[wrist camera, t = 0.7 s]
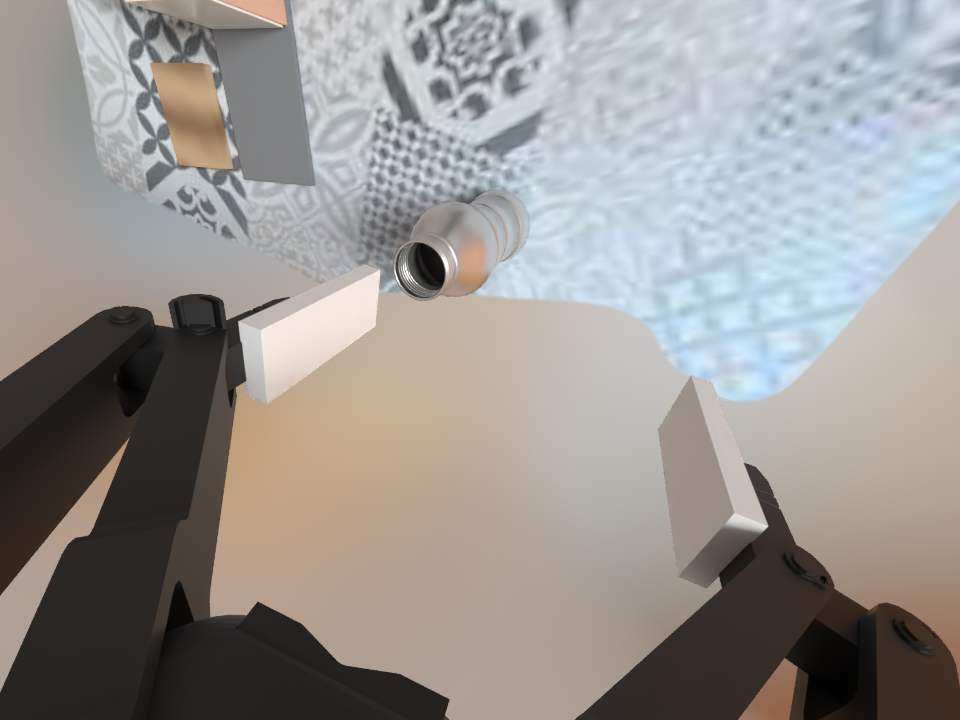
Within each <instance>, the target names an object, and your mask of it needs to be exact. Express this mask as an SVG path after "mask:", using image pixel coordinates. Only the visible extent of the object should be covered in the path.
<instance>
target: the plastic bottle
mask: <svg viewBox="0 0 960 720" xmlns="http://www.w3.org/2000/svg"><path fill="white" fill-rule="evenodd" d="M529 229H530V219H529V214H528V211H527V209H526V207H525V205H524V204H523V202H522V201H521V200H520V199H519V198H518V197H516V196H515V195H514V194H512V193H510V192H507V191H505V190H490V191H487V192H484V193H483V194H481V195H479V196H478V197H477V198H476V199H475V200H473V201H472V202H471V204H466V203H461V202H444V203H440V204H437V205H434V206H433V207H431V208H429V209H428V210H427V211H426V212H424V213H423V214H422V215H421V217H420V218H419V220H418V221H417V223H416V224H415V226H414V228H413V230H412V232H411V235H410V240H409V241H407V242H405V243H404V244H403V245H402V246H401V247H400V248H399V249H398V250H397V252H396V254H395V257H394V261H393V271H394V276H395V279H396V281H397V283H398V285H399V287H400V288H401V289H402V291H404V292H405V293H406V294H407V295H408V296H410V297H411V298H414V299H416V300H420V301H427V300H431V299H434V298H436V297H438V296H439V295H443V296H447V297H459V296H465V295H468V294H471V293H473V292H475V291H476V290H478V289H479V288H480V287H481V286H482V285H483V284H484V283H485V282H486V281H487V279H488V278H489V277H490V275H491V273H492V272H493V270H494V268H495V266H496V264H497V263H499V262H503V261H506V260H508V259H511V258H513V257H514V256H515V255H517V254H518V253H519V252H520V251H521V249H522V248H523V246H524V245H525V243H526V241H527V238H528V234H529Z"/></svg>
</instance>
